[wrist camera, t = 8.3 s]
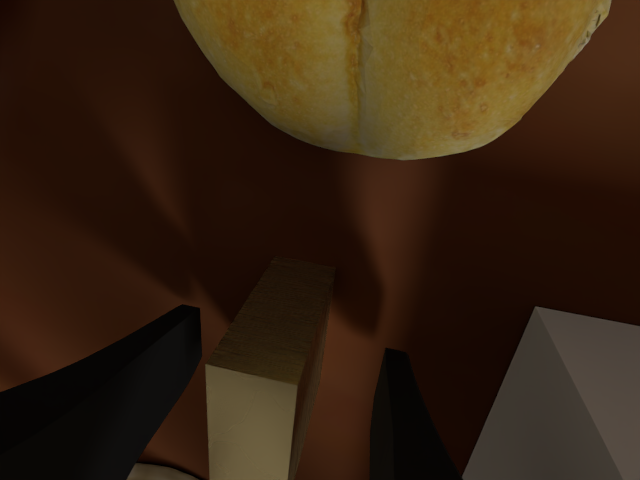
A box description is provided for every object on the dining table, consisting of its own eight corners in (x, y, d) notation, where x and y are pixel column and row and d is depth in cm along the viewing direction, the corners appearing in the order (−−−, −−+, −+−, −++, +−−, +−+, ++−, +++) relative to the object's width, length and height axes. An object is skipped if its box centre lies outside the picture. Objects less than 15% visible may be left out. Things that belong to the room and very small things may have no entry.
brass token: (320, 382, 15) (282, 524, 10) (268, 370, 15) (210, 504, 10) (335, 266, 12) (297, 385, 8) (275, 255, 13) (205, 364, 8)
